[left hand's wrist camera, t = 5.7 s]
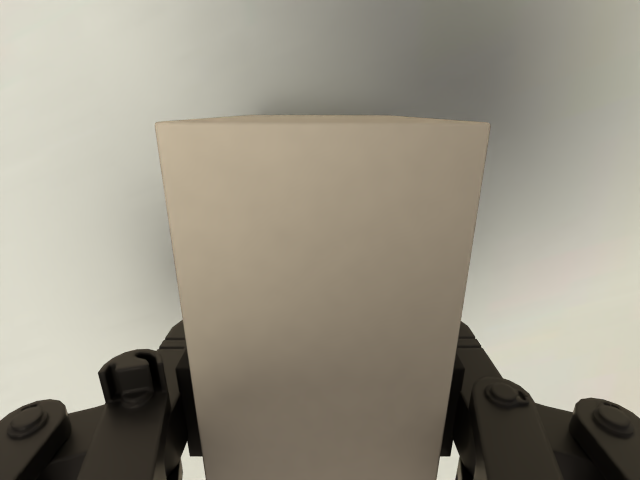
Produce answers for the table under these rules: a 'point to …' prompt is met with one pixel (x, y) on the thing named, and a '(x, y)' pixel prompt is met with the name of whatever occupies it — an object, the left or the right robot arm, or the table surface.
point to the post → (321, 287)
